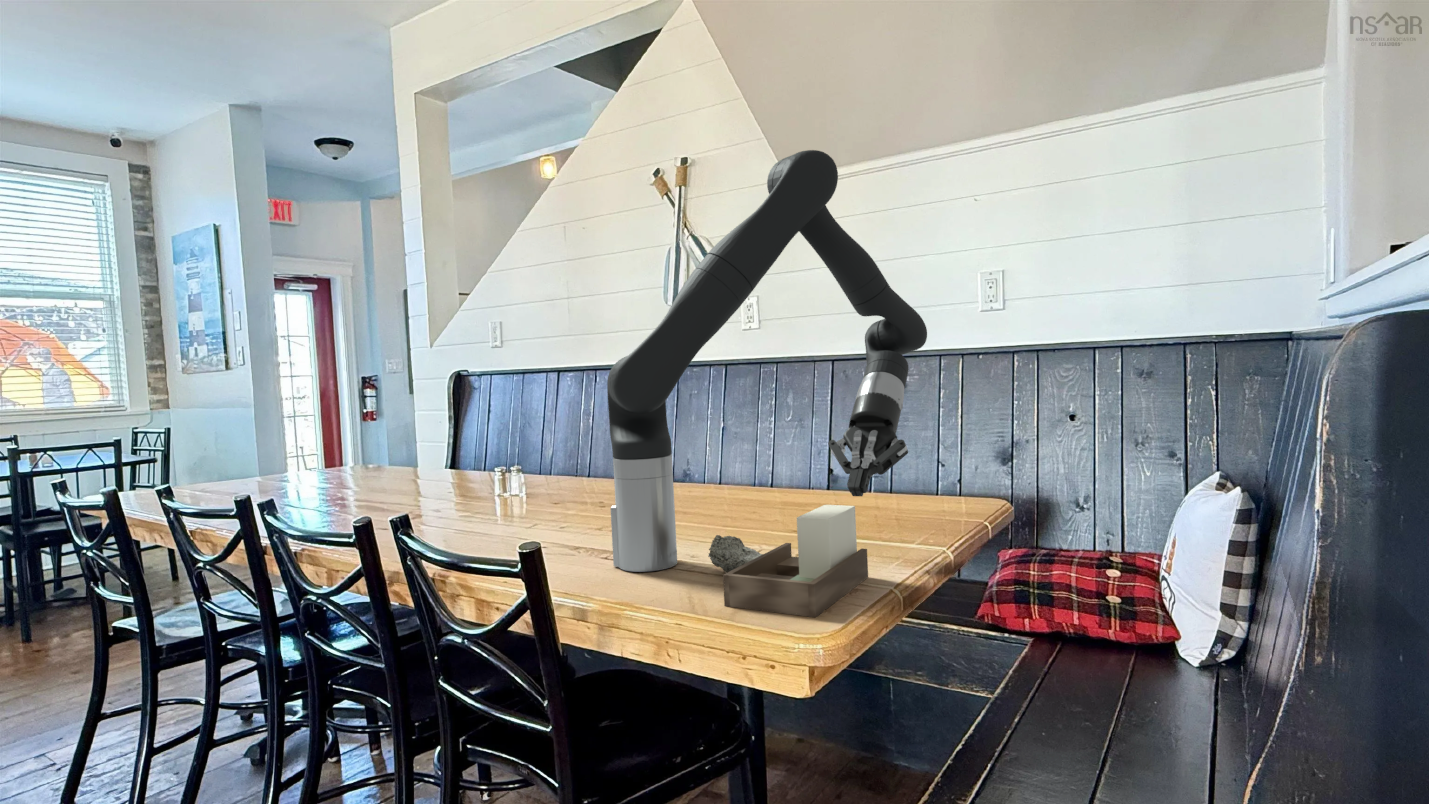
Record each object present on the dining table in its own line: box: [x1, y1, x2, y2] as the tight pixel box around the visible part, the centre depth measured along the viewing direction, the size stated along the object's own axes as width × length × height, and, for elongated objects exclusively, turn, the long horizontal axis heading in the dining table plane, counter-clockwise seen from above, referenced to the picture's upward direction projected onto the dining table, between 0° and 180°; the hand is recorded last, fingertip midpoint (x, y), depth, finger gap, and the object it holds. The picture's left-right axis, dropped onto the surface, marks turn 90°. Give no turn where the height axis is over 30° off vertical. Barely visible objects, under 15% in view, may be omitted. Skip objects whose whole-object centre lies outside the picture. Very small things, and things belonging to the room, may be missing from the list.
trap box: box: [722, 542, 869, 618], centre depth 103 cm, size 12×19×4 cm, turn 150°
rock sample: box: [707, 534, 764, 574], centre depth 115 cm, size 10×8×9 cm
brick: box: [796, 504, 858, 579], centre depth 106 cm, size 4×10×8 cm, turn 150°
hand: (856, 493), depth 115 cm, fingers closed
